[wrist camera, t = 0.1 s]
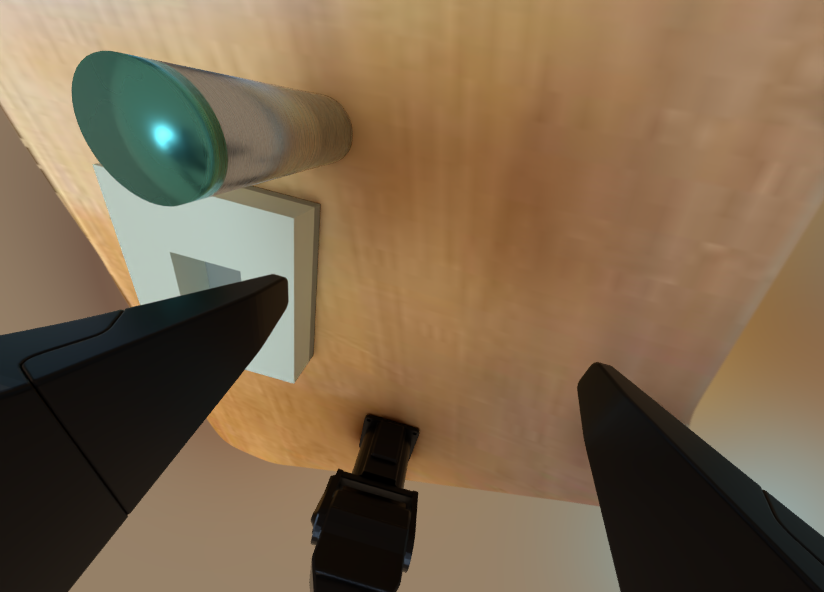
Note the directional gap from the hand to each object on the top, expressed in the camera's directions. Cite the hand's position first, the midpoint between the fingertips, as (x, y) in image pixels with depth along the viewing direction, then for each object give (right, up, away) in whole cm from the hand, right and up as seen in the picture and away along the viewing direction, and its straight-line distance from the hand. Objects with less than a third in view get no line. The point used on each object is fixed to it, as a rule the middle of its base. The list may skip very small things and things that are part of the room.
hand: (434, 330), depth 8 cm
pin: (-7, +12, +11) cm, 18 cm away
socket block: (-16, +3, +18) cm, 25 cm away
